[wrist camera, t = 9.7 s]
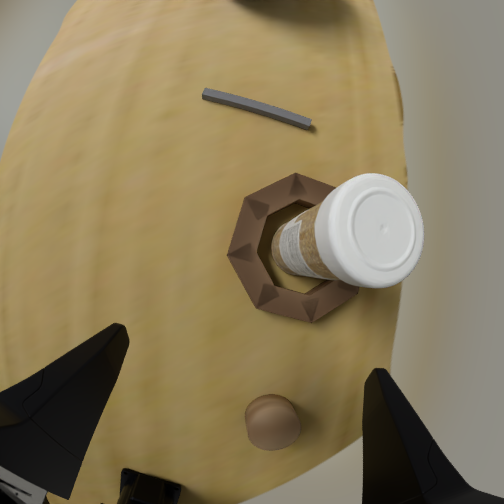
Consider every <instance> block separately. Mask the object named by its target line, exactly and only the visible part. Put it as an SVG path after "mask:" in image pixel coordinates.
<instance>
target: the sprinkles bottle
mask: <svg viewBox="0 0 504 504" xmlns="http://www.w3.org/2000/svg"><path fill="white" fill-rule="evenodd" d="M423 244H424V226H423V220H422V216H421V213H420V210H419V208H418V205H417V203H416V202H415V200H414V198H413V197H412V195H411V194H410V193H409V192H408V191H407V189H406V188H405V187H404V186H402V185H401V184H400V183H399V182H397V181H396V180H394V179H392V178H390V177H388V176H385V175H381V174H374V173H368V174H362V175H359V176H356V177H354V178H352V179H350V180H348V181H346V182H345V183H343V184H342V185H340V186H339V187H337V188H336V189H334V190H333V191H332V192H331V193H330V194H329V195H328V196H327V197H326V198H325V200H324V201H322V202H321V203H319V204H317V205H316V206H314V207H312V208H311V209H309V210H307V211H305V212H303V213H301V214H300V215H298V216H296V217H295V218H293V219H292V220H291V221H289V222H287V223H285V224H283V225H282V226H281V227H280V228H279V229H278V230H277V231H276V233H275V234H274V237H273V240H272V243H271V250H272V256H273V259H274V261H275V262H276V264H277V266H278V267H280V268H281V269H282V270H283V271H285V272H286V273H288V274H292V275H303V276H309V277H315V278H321V279H328V280H342V281H344V282H346V283H348V284H351V285H354V286H360V287H366V288H387V287H390V286H393V285H396V284H398V283H399V282H401V281H403V280H404V279H405V278H406V277H407V276H408V275H410V273H411V272H412V271H413V269H414V268H415V266H416V265H417V263H418V261H419V259H420V256H421V253H422V249H423Z"/></svg>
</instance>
